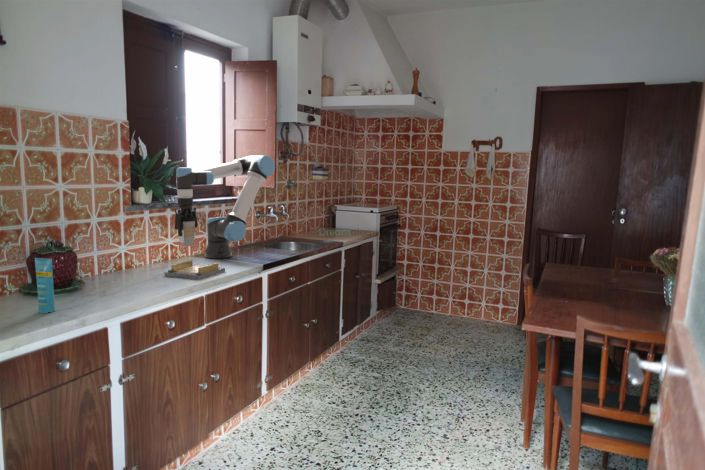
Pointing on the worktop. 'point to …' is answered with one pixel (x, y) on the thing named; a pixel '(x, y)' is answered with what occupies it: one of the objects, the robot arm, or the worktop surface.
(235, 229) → the robot arm
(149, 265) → the worktop surface
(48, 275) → the tube
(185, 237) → the coffee cup
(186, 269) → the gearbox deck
